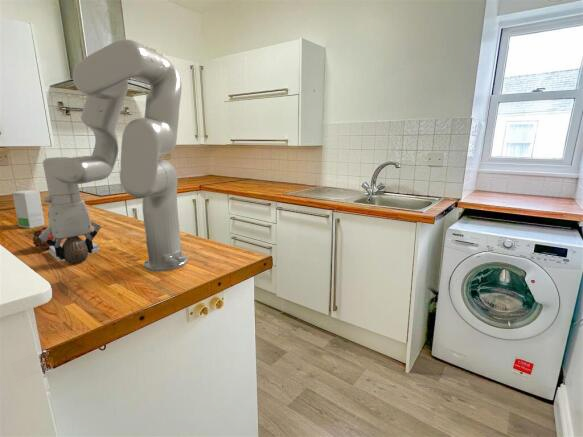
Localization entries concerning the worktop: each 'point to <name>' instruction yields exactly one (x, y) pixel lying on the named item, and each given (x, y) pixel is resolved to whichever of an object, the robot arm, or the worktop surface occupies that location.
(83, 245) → the vase
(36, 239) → the dragon fruit
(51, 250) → the baseplate
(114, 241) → the worktop surface
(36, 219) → the skincare box
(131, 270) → the worktop surface
